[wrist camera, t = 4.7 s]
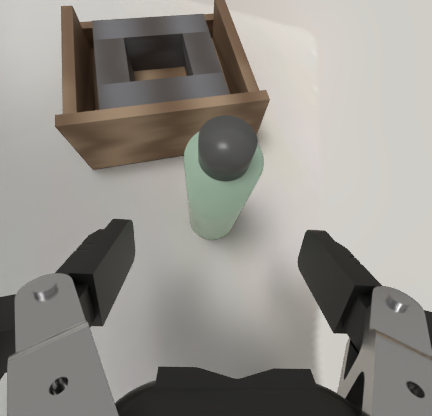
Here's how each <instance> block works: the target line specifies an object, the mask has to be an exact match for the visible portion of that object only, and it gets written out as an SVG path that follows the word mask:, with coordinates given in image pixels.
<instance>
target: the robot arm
mask: <svg viewBox="0 0 432 416" xmlns="http://www.w3.org/2000/svg"><path fill="white" fill-rule="evenodd" d="M134 257H135V242H134V230H133V222H132V220H125V219H113V220H112V221H111V222H110V223H109V224H108V226H107V227H106V228H105V229H99V230H97V231H96V232H94V233H92V234H91V235H89V236H88V237H87V238H86V239H85V240H84V241H83V243H82V244H81V245H80V246H79V247H78V248H77V250H76V251H74V253H73V254H72V255H71V256H70V257H69V258H68V259H67V260H66V261H65V263H64V264H63V265H62V266H61V267H60V268H59V269H58V270H57V271H56V273H55V274H48V275H44V276H41V277H38V278H36V279H34V280H32V281H30V282H29V283H27V284H26V285H24V286H23V287H22V288H21V289H20V290H19V291H18V292H17V294H15V295H10V296H4V297H0V379H1V378H2V376H3V375H4V373H6V372H7V416H432V312H429V311H425V310H423V308H422V307H421V306H420V304H419V303H418V302H416V301H415V300H414V299H413V298H411V297H410V296H408V295H407V294H405V293H403V292H401V291H399V290H397V289H394V288H391V287H386V286H382V285H381V284H380V283H379V282H378V281H377V280H376V279H375V278H374V277H373V276H372V275H371V274H370V273H369V271H368V270H367V269H366V268H365V267H364V266H363V265H361V264H360V262H359V261H358V260H357V259H356V258H354V256H353V255H352V254H351V252H350V251H349V250H348V249H347V248H345V247H343V246H342V245H340V244H339V243H337V242H335V241H334V240H333V239H332V238H331V236H330V235H329V234H328V233H327V232H326V231H320V230H307V231H306V233H305V235H304V239H303V242H302V246H301V249H300V253H299V256H298V267H299V270H300V272H301V274H302V276H303V278H304V280H305V281H306V283H307V285H308V287H309V289H310V291H311V292H312V294H313V296H314V298H315V300H316V302H317V304H318V305H319V307H320V309H321V311H322V313H323V315H324V316H325V318H326V320H327V322H328V324H329V326H330V327H331V329H332V331H333V333H345V334H348V336H349V340H348V342H347V345H346V350H345V356H344V361H343V366H342V371H341V377H340V382H339V387H338V391H337V393H335V392H334V391H332V390H330V389H328V388H326V387H323V386H321V385H319V384H316V383H315V381H314V378H313V375H312V373H311V370H310V369H271V370H268V371H264V372H261V373H258V374H254V375H251V376H247V377H244V378H240V379H234V378H230V377H227V376H224V375H220V374H217V373H214V372H211V371H207V370H204V369H201V368H197V367H158V373H157V378H156V381H152V382H149V383H147V384H144V385H142V386H140V387H138V388H136V389H134V390H132V391H131V392H129V393H127V394H126V395H125V396H123V397H122V398H120V399H119V400H118V401H117V402H116V403H114V400H113V397H112V394H111V391H110V388H109V385H108V382H107V379H106V376H105V373H104V370H103V367H102V364H101V361H100V358H99V355H98V352H97V349H96V346H95V343H94V339H93V336H92V333H91V330H90V327H91V326H103V325H104V323H105V321H106V319H107V317H108V314H109V312H110V310H111V308H112V306H113V304H114V302H115V300H116V298H117V295H118V293H119V291H120V289H121V287H122V285H123V283H124V281H125V279H126V276H127V274H128V272H129V270H130V268H131V266H132V264H133V261H134Z"/></svg>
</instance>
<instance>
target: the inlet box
mask: <svg viewBox="0 0 432 416" xmlns="http://www.w3.org/2000/svg"><path fill="white" fill-rule="evenodd" d="M61 31H62V93H63V114H61V115H55V127H56V128H57V129H58V130H59V131H60V133H61V134H62V135H63V136H64V137H65V138H66V140H67V141H68V142H69V143H70V144H71V145H72V146H73V148H74V149H75V150H76V151H77V152H78V153H79V154H80V156H81V157H82V158H83V159H84V160H85V161H86V163H87V164H88V165H89V166H90V167H91V168H92V169H100V168H106V167H113V166H119V165H126V164H132V163H138V162H145V161H151V160H158V159H164V158H170V157H177V156H183V155H184V152H185V149H186V146H187V144H188V142H189V141H190V139H191V138H192V137H193V136H194V135H195V134H196V133H198V132H199V131H200V129H201V127H202V126H203V125H204V124H205V123H206V122H207V121H208V120H210V119H212V118H214V117H217V116H223V115H229V116H234V117H238V118H240V119H242V120H244V121H246V122H247V123H248V124H249V125H250V126H251V127H252V128H253V130H254V131H255V133H256V135H257V132H258V129H259V127H260V124H261V122H262V119H263V116H264V114H265V111H266V108H267V106H268V103H269V100H270V99H269V96H268V94H267V91H266V90H262V91H259V88H258V86H257V83H256V81H255V78H254V75H253V73H252V70H251V68H250V65H249V62H248V60H247V57H246V55H245V52H244V49H243V47H242V44H241V41H240V39H239V36H238V34H237V31H236V28H235V26H234V23H233V21H232V18H231V15H230V13H229V10H228V7H227V5H226V2H225V0H214V14H194V15H178V16H162V17H146V18H130V19H114V20H98V21H92V22H79V20H78V17H77V15H76V13H75V11H74V8H73V6H61Z"/></svg>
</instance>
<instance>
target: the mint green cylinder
mask: <svg viewBox="0 0 432 416" xmlns="http://www.w3.org/2000/svg"><path fill="white" fill-rule="evenodd" d="M184 165H185V175H186V185H187V195H188V205H189V215H190V223H191V226H192V228H193V230H194V231H195V232H196V233H197V234H198V235H199V236H201V237H202V238H205V239H209V240H215V239H220V238H222V237H224V236H225V235H227V234H228V233H229V231H230V230H231V228H232V226H233V225H234V223H235V221H236V219H237V217H238V216H239V214H240V212H241V210H242V208H243V207H244V205H245V203H246V201H247V199H248V197H249V196H250V194H251V192H252V190H253V188H254V187H255V185H256V183H257V181H258V179H259V178H260V176H261V174H262V171H263V166H264V159H263V154H262V151H261V149H260V147H259V145H258V143H257V136H256V133H255V131H254V130H253V128H252V127H251V126H250V125H249V124H248V123H247V122H246V121H244V120H242V119H240V118H238V117H234V116H229V115H223V116H217V117H214V118H212V119H210V120H208V121H207V122H206V123H205V124H204V125H203V126H202V127H201V129H200V131H199V132H198V133H196V134H195V135H194V136H193V137H192V138H191V139H190V141H189V142H188V144H187V146H186V149H185V152H184Z"/></svg>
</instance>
